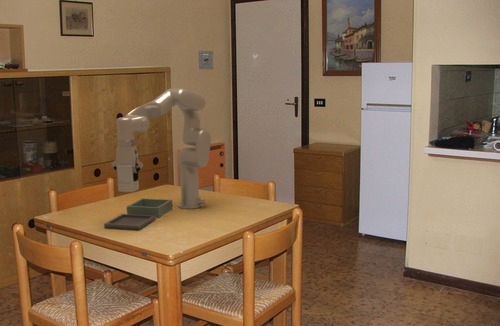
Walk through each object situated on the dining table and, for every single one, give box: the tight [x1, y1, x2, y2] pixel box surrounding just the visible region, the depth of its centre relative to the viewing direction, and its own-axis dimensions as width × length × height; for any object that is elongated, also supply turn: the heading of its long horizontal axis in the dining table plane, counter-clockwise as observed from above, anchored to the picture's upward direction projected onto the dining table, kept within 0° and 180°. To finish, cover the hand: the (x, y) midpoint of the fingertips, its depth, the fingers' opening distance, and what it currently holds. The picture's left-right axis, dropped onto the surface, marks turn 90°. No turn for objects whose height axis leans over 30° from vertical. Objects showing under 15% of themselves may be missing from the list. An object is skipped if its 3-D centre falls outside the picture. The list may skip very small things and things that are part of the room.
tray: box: [103, 213, 157, 232], centre depth 277 cm, size 18×18×2 cm
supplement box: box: [116, 164, 140, 193], centre depth 273 cm, size 7×7×13 cm
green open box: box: [126, 197, 174, 219], centre depth 297 cm, size 17×17×5 cm
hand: (128, 180), depth 273 cm, fingers closed on supplement box, 7 cm apart
